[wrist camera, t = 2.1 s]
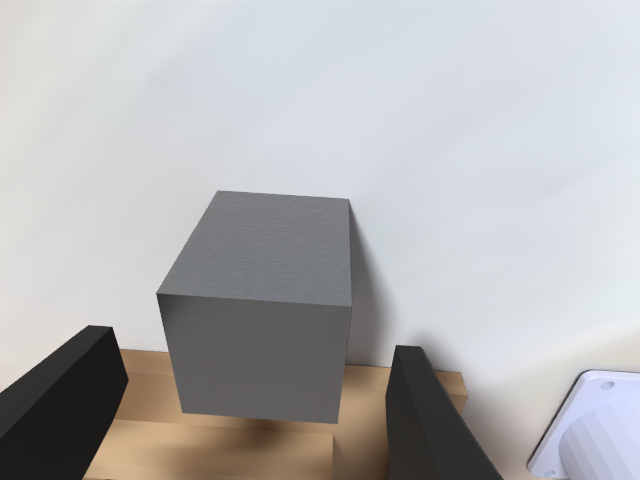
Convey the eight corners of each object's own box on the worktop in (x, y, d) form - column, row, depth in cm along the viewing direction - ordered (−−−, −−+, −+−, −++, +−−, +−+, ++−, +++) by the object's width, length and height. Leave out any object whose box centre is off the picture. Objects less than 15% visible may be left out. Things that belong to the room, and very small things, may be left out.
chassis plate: (466, 357, 18) (490, 429, 15) (406, 527, 26) (414, 594, 23) (56, 329, 18) (2, 395, 15) (130, 507, 26) (104, 571, 23)
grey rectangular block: (348, 198, 14) (352, 306, 9) (338, 298, 16) (337, 424, 12) (218, 190, 14) (156, 293, 9) (227, 291, 16) (182, 413, 12)
